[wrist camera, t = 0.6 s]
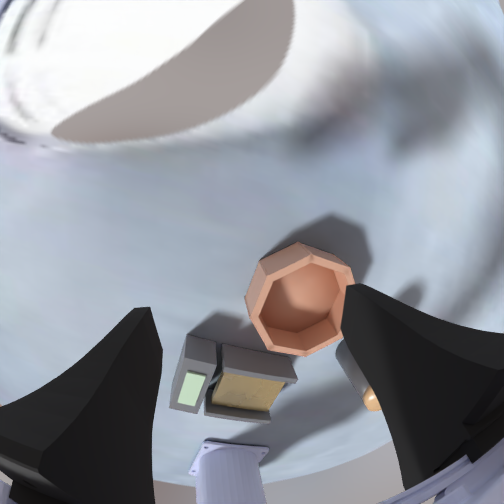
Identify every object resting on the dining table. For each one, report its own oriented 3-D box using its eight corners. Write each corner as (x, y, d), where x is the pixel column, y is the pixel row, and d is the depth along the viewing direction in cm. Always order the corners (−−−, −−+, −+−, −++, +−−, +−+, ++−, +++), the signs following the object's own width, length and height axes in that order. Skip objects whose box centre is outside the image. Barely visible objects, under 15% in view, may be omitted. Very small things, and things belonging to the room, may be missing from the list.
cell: (357, 364, 25) (390, 413, 18) (328, 361, 24) (360, 415, 17) (375, 335, 24) (415, 381, 17) (347, 330, 23) (386, 380, 16)
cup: (317, 340, 23) (329, 360, 20) (234, 321, 21) (238, 344, 18) (355, 261, 21) (374, 275, 18) (269, 231, 19) (279, 242, 17)
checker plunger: (265, 405, 23) (267, 411, 22) (210, 397, 22) (211, 403, 21) (284, 374, 22) (286, 380, 21) (225, 363, 21) (225, 369, 20)
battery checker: (263, 401, 24) (269, 425, 21) (172, 384, 22) (169, 409, 19) (288, 357, 23) (298, 380, 20) (186, 334, 21) (184, 359, 18)
